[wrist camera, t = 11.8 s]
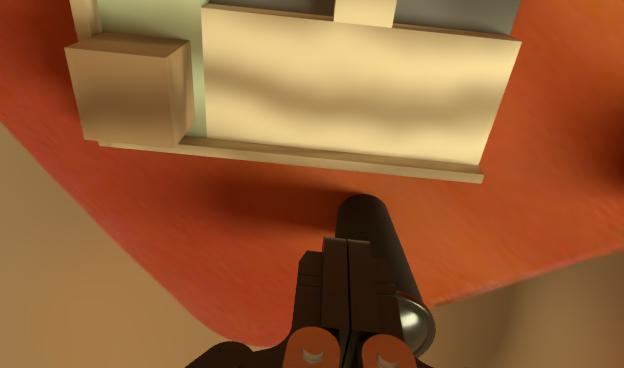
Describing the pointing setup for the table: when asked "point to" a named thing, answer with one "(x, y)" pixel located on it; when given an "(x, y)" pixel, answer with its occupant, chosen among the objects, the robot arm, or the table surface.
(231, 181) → the table surface
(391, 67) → the board
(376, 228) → the drinking cup
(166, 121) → the walnut block
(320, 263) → the robot arm
